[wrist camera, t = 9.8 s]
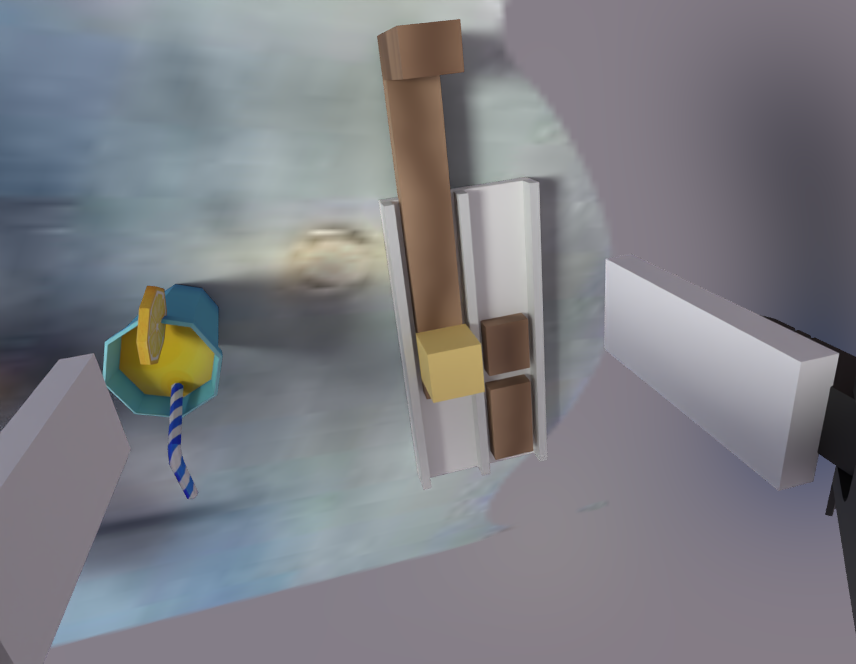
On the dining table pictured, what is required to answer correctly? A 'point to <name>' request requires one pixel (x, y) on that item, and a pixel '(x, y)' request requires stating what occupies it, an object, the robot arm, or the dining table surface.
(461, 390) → the cube
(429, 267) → the strip
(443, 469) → the lane board
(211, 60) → the dining table surface
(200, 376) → the cup
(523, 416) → the broken strip
